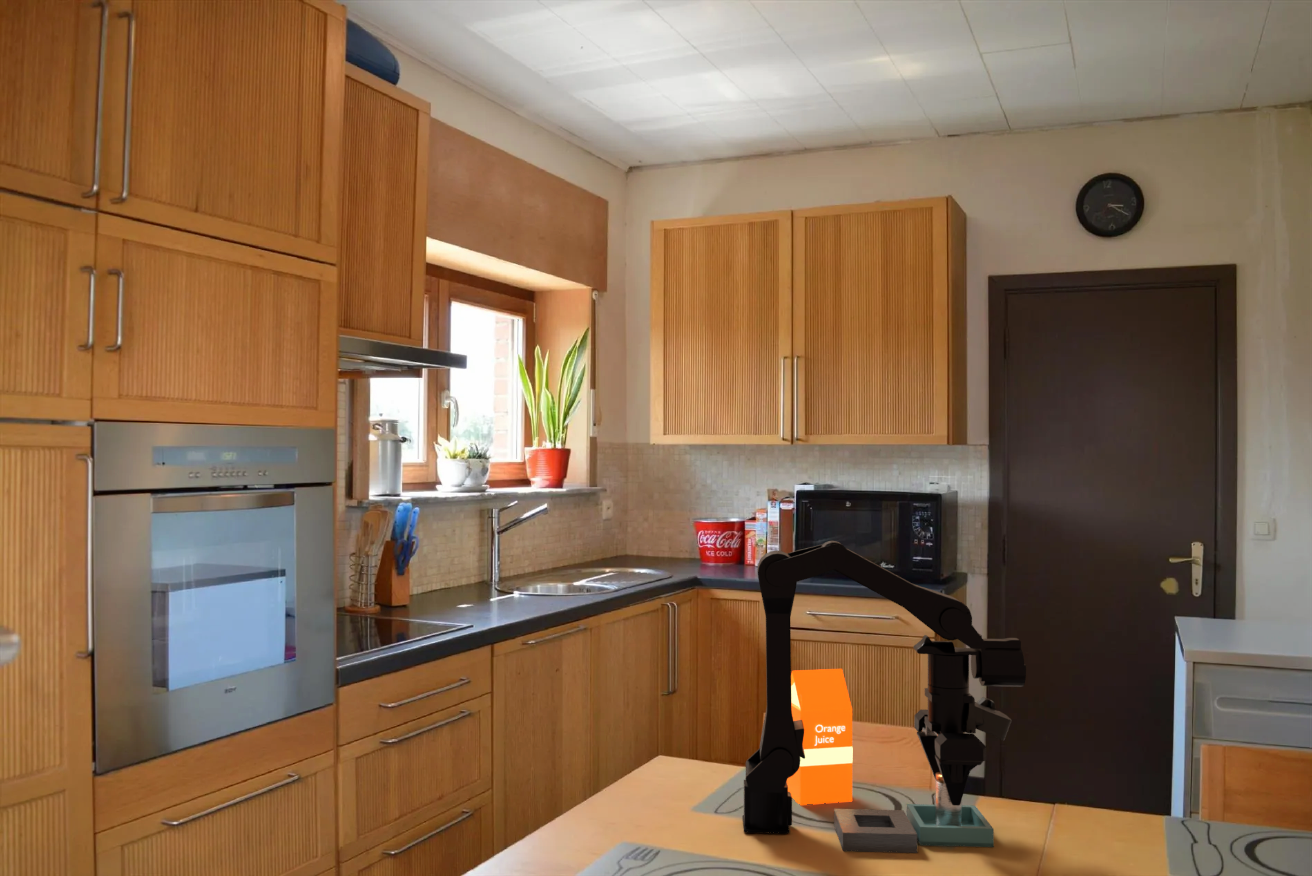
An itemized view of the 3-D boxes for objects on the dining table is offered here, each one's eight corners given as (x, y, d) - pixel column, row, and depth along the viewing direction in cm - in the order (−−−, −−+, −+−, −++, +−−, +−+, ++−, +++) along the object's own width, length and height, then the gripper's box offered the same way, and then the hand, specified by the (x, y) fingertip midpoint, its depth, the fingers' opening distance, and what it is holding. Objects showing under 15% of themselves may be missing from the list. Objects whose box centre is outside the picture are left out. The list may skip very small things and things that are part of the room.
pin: (938, 834, 147) (938, 778, 147) (932, 825, 151) (933, 771, 151) (964, 834, 147) (964, 779, 147) (958, 826, 151) (958, 771, 151)
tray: (920, 845, 144) (920, 827, 144) (906, 821, 154) (906, 804, 154) (993, 847, 144) (993, 828, 144) (975, 822, 154) (975, 805, 154)
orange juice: (782, 790, 168) (782, 666, 169) (833, 787, 171) (833, 664, 171) (800, 806, 161) (800, 675, 162) (853, 802, 163) (853, 673, 164)
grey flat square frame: (842, 851, 142) (842, 832, 142) (834, 826, 152) (834, 808, 152) (917, 853, 141) (917, 834, 141) (903, 827, 151) (903, 810, 151)
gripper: (1025, 700, 140) (1025, 818, 139) (987, 673, 158) (987, 777, 158) (940, 698, 140) (941, 816, 140) (913, 672, 159) (913, 775, 159)
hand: (948, 794), depth 149 cm, fingers open, 9 cm apart
